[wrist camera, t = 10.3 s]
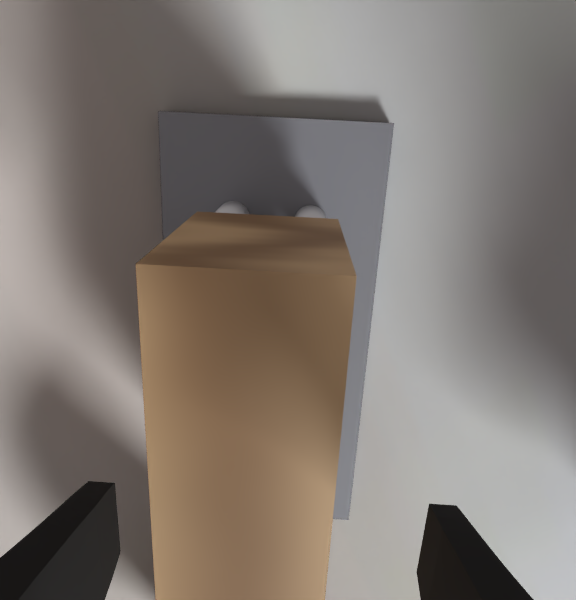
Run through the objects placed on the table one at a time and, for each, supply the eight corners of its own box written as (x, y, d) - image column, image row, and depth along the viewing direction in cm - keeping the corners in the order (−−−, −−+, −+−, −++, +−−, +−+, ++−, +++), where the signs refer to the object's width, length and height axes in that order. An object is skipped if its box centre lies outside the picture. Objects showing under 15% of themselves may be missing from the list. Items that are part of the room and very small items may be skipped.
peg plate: (390, 123, 18) (408, 123, 14) (347, 506, 23) (353, 566, 20) (164, 111, 18) (134, 109, 15) (177, 496, 24) (158, 553, 20)
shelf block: (338, 219, 16) (356, 276, 10) (313, 522, 20) (316, 685, 14) (196, 211, 16) (135, 263, 10) (201, 515, 20) (160, 674, 14)
